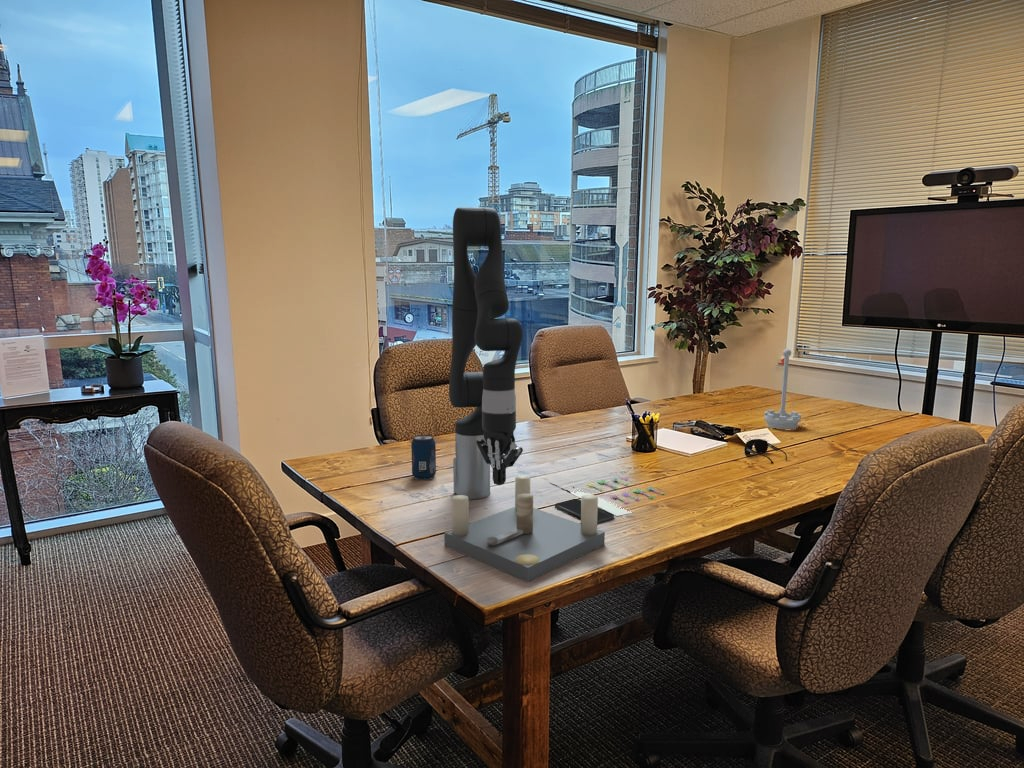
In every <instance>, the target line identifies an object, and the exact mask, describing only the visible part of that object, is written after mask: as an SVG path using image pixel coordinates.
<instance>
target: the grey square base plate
mask: <svg viewBox="0 0 1024 768" xmlns="http://www.w3.org/2000/svg"><path fill="white" fill-rule="evenodd" d="M514 479H515V480H514V481H515V482H514V483H515V484H514V486H515V487H514V490H515V491H514V506H513V507H511V508H508V509H505V510H502V511H500V512H497V513H494V514H491V515H489V516H485V517H484V518H481V519H478V520H475V521H473V522H470V521H469V516H470V515H469V499H468V496H465V495H453V496H452V497H451V529H450V530H447V531H445V532H444V536H443V538H444V546H445V547H448V548H450V549H452V550H454V551H457V552H459V553H460V554H463V555H465V556H467V557H469V558H472V559H474V560H477V561H479V562H481V563H484V564H486V565H488V566H491V567H493V568H495V569H497V570H500V571H502V572H504V573H506V574H509V575H511V576H513V577H515V578H518V579H520V580H522V581H524V582H527V583H529V582H531V581H533V580H535V579H537V578H539V577H541V576H543V575H545V574H548V573H550V572H551V570H552V571H553V569H554V570H556V569H558V568H560V567H562V566H564V565H566V564H568V563H570V562H572V561H574V560H576V559H578V558H580V557H582V556H584V555H586V554H588V553H591V552H592V550H593V551H595V550H596V549H599V548H600V547H603V546H604V545H605V542H606V541H605V539H606V538H605V534H606V532H605V531H604V530H600V529H599V528H598V524H597V513H598V508H599V507H598V497H599V496H597V495H595V494H592V495H583V496H582V497H581V498H580V500H581V520H580V522H576V521H574V520H570V519H567V518H565V517H561V516H559V515H556V514H553V513H550V512H546V511H543V510H540V509H538V508H535V507H533V532H531V533H528V534H521V535H518V536H516V537H514V538H511V539H509V540H506V541H504V542H501V543H499V544H497V545H495V546H489V545H487V538H490V537H495V536H498V535H500V534H503V533H505V532H508V531H510V530H513V529H516V528H517V495H519V494H524V493H525V494H531V476H530V475H527V474H521V475H520V474H519V475H516V476H515V478H514ZM469 522H470V523H469ZM598 547H599V548H598ZM594 549H595V550H594ZM590 551H591V552H590ZM581 555H582V556H581ZM579 556H580V557H579ZM577 557H578V558H577ZM575 558H576V559H575ZM573 559H574V560H573ZM571 560H572V561H571ZM569 561H570V562H569ZM567 562H568V563H567ZM565 563H566V564H565ZM563 564H564V565H563ZM561 565H562V566H561ZM559 566H560V567H559ZM557 567H558V568H557ZM555 568H556V569H555ZM549 571H550V572H549ZM547 572H548V573H547Z"/></svg>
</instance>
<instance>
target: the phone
mask: <svg viewBox="0 0 1024 768" xmlns="http://www.w3.org/2000/svg"><path fill="white" fill-rule="evenodd" d="M554 508H555V509H556V508H557V510H558V509H559V511H561V512H562V513H563V512H564V514H565V513H566V514H567V515H569V516H571V517H573V518H575V517H576V518H575V519H578V520H580V521H581V499H579V498H572V499H568V500H565V501H561V502H556V503H555V504H554ZM614 519H615V515H614V514H612V513H610V512H608V511H606V510H604V509H602V508H600V507H598V513H597V525H599V524H603V523H604V522H610V521H612V520H613V521H614Z"/></svg>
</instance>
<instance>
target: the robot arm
mask: <svg viewBox="0 0 1024 768" xmlns="http://www.w3.org/2000/svg"><path fill="white" fill-rule="evenodd" d="M501 225H502V224H501V220H500V216H499V213H498V211H497V209H495V208H492V207H481V206H480V207H477V206H476V207H474V206H459V207H457V208H456V209H455V210H454V213H453V217H452V245H453V246H452V247H453V290H452V304H451V305H452V308H451V311H452V312H451V327H452V328H451V332H452V334H451V335H452V336H451V338H452V339H451V340H452V341H451V342H452V343H451V344H452V345H451V359H450V371H449V380H448V381H449V383H448V398H449V403H450V404H451V406H452V407H454V408H462V409H464V408H475V409H474V410H473V411H472V412H471V413H470V414H468V415H466V416H463V417H461V418H460V419H458V420H457V421H456V422H455V425H454V432H455V436H454V437H455V438H454V439H455V440H454V441H455V457H454V458H453V460H452V461H453V462H452V465H453V492H454V493H455V494H456V495H465V496H468V500H469V499H470V500H476V499H477V500H478V499H482V498H483V497H484V498H486V497H488V496H490V495H491V468H492V481H493V484H494V485H497V486H502V485H505V483H506V480H507V469H508V468H509V467H510V468H511V467H513V466H514V465H515V463H516V461H517V460H518V459H519V457H520V456H521V454H522V453H523V452H524V448H523V447H522V446H520V447H519V446H518V445H517V444H516V438H515V435H514V433H515V430H516V428H517V397H516V390H515V389H516V386H515V385H516V383H515V382H516V381H515V380H516V377H515V376H516V375H515V374H516V367H517V360H518V356H519V353H520V349H521V346H522V343H523V339H524V330H523V326H522V324H521V322H520V321H519V320H518V319H517V318H510V317H509V318H507V317H506V318H501V317H502V316H504V315H506V314H507V312H508V310H509V307H510V305H509V297H508V294H507V289H506V283H505V277H504V267H503V265H504V264H503V262H504V261H503V260H504V258H503V242H502V241H503V240H502V239H503V238H502V226H501ZM468 247H482V248H484V247H487V248H488V252H487V255H486V258H485V259H484V261H482V264H481V266H480V267H479V269H478V271H477V273H476V272H475V270H474V269H473V266H472V264H471V262H470V259H469V255H468V254H469V253H468ZM476 346H477V348H478V349H480V350H481V351H484V352H499V351H501V352H502V351H504V352H503V355H502V356H501V357H499V358H498V359H496V360H492V361H488V362H486V363H485V364H484V365H483V366H482V371H465V369H466V366H467V362H468V359H469V357H470V355H471V353H472V352H473V351H474V349H475V348H476ZM456 495H455V496H456Z"/></svg>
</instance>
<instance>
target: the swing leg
mask: <svg viewBox="0 0 1024 768" xmlns="http://www.w3.org/2000/svg"><path fill="white" fill-rule="evenodd" d="M533 508H534V495H533V494H531V493H530V494H525V493H524V494H519V495H517V528H516V529H513V530H510V531H508V532H505V533H503V534H500V535H498V536H495V537H490V538H487V545H489V546H495V545H497V544H499V543H501V542H504V541H506V540H509V539H511V538H514V537H516V536H518V535H521V534H528V533H531V532H533Z"/></svg>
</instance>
